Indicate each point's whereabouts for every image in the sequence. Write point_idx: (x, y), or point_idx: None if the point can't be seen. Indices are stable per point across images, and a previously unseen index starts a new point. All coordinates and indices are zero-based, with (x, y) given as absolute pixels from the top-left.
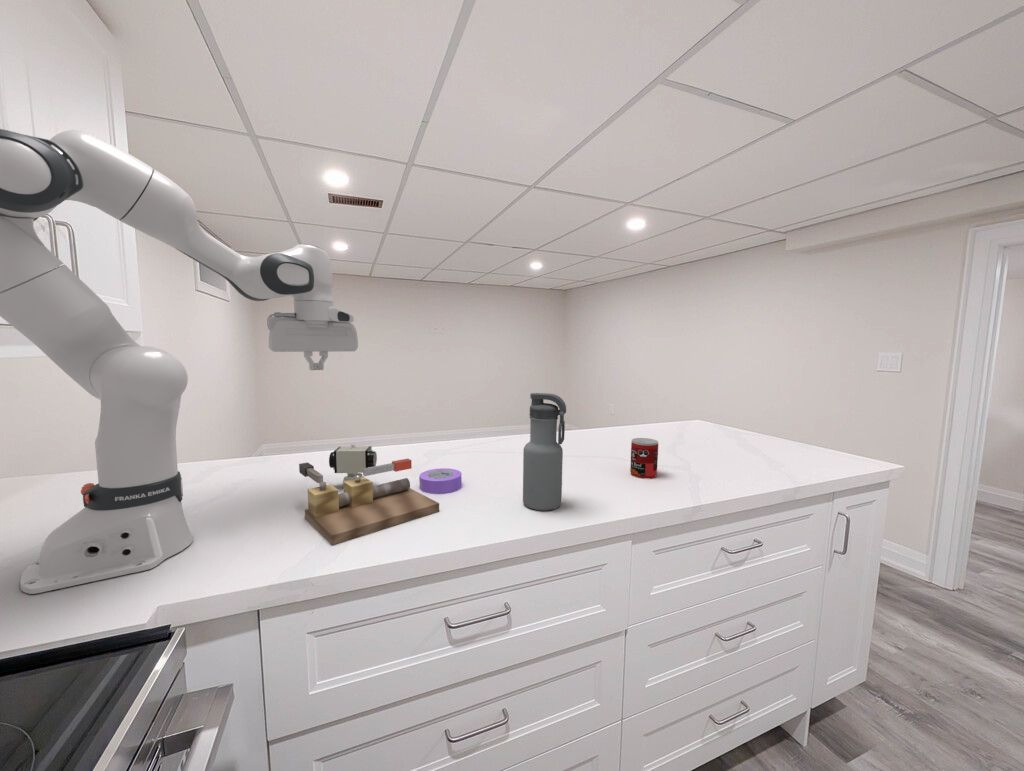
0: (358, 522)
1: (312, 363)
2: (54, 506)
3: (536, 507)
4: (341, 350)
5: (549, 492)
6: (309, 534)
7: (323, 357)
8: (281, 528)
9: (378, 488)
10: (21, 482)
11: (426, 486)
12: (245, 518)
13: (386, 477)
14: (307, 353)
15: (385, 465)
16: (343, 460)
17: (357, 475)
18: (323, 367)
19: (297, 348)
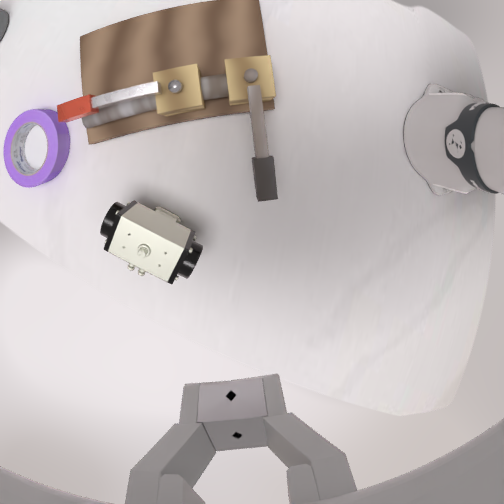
0: (211, 14)
1: (277, 412)
2: (461, 328)
3: (6, 12)
4: (12, 477)
5: None
6: (277, 48)
7: (174, 468)
8: (309, 93)
9: None
10: (450, 395)
11: (61, 125)
12: (347, 167)
13: (103, 242)
14: (342, 481)
15: (110, 93)
16: (173, 231)
17: (174, 87)
18: (184, 392)
19: (473, 466)
